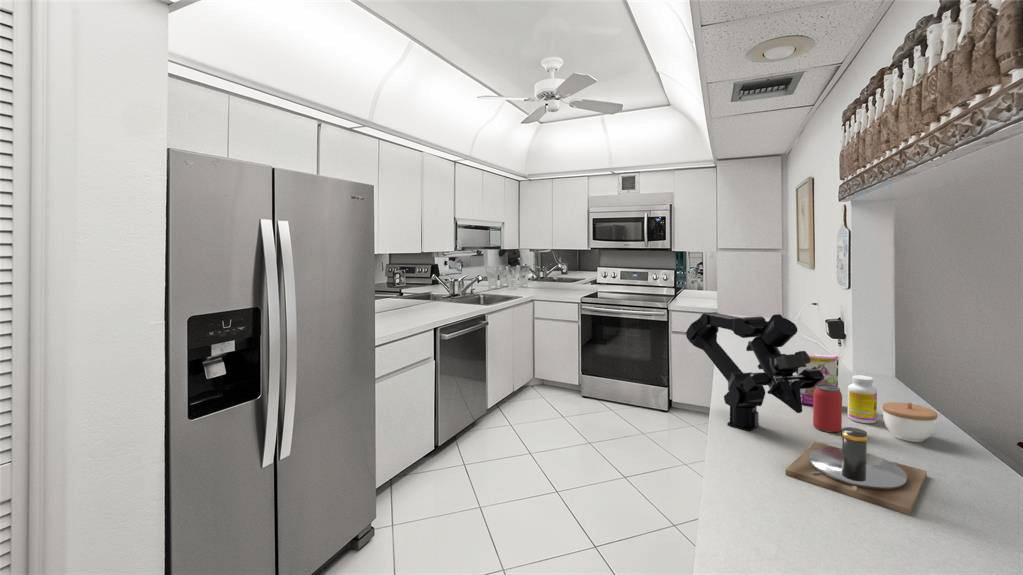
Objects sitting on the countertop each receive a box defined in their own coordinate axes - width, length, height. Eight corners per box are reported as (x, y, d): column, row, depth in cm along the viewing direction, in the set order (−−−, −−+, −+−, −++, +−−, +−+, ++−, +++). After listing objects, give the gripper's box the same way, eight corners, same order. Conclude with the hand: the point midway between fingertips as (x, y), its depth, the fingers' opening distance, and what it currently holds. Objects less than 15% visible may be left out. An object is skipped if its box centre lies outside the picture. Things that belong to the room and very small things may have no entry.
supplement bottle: (878, 425, 122) (879, 381, 121) (849, 421, 125) (849, 378, 124) (874, 417, 128) (875, 375, 127) (846, 414, 131) (846, 373, 130)
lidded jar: (938, 449, 107) (939, 413, 106) (881, 438, 114) (882, 404, 113) (934, 435, 115) (936, 401, 114) (882, 426, 122) (882, 393, 121)
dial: (813, 446, 108) (814, 403, 107) (905, 466, 97) (906, 418, 96) (804, 473, 95) (804, 424, 94) (908, 500, 84) (910, 445, 83)
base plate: (785, 474, 98) (785, 468, 98) (814, 446, 111) (814, 440, 111) (910, 515, 82) (910, 507, 81) (926, 476, 95) (926, 469, 95)
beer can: (846, 433, 118) (847, 391, 117) (819, 432, 119) (820, 390, 118) (833, 424, 124) (834, 383, 123) (808, 423, 125) (809, 383, 124)
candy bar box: (795, 404, 141) (796, 355, 140) (795, 399, 145) (795, 351, 144) (838, 409, 135) (839, 358, 134) (836, 404, 139) (837, 355, 138)
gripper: (750, 342, 107) (781, 399, 97) (819, 338, 109) (857, 394, 99) (731, 364, 115) (757, 420, 105) (795, 360, 117) (828, 415, 107)
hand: (800, 412), depth 104 cm, fingers closed
